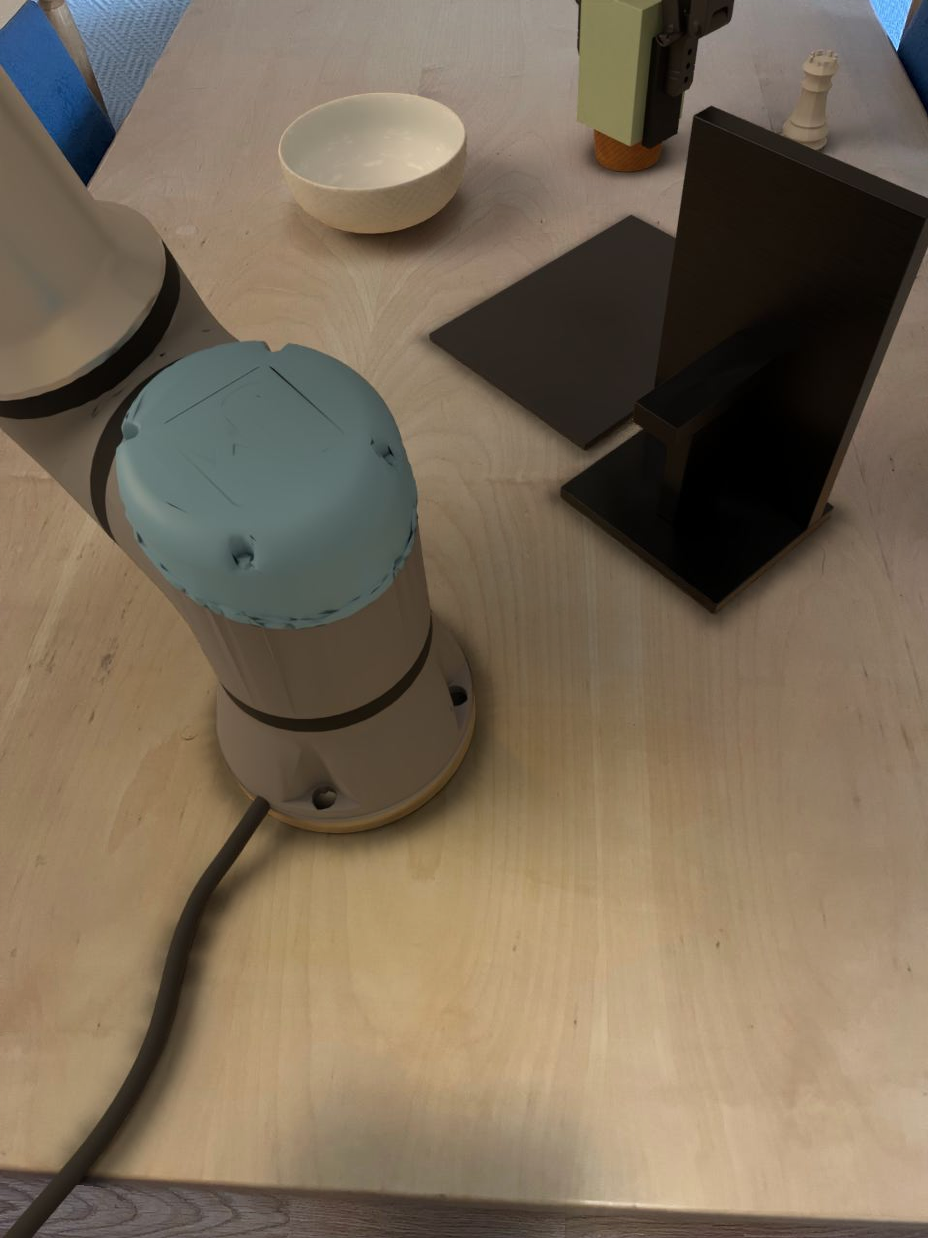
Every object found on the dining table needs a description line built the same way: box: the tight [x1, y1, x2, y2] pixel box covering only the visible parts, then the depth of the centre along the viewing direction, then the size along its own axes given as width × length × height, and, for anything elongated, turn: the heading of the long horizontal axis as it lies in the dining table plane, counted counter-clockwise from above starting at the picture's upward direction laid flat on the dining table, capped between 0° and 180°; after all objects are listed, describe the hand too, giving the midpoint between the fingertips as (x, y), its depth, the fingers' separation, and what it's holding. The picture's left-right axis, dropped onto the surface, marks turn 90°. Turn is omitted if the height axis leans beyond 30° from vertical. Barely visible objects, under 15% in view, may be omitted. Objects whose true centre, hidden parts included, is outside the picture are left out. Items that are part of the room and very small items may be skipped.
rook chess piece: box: [780, 48, 840, 151], centre depth 85 cm, size 4×4×8 cm
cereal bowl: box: [277, 92, 468, 235], centre depth 83 cm, size 17×17×7 cm
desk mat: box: [428, 214, 676, 451], centre depth 74 cm, size 24×18×1 cm
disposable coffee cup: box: [593, 129, 664, 172], centre depth 84 cm, size 10×10×12 cm
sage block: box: [576, 0, 686, 146], centre depth 58 cm, size 5×5×8 cm
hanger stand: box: [559, 105, 928, 615], centre depth 53 cm, size 12×14×23 cm
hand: (628, 123), depth 62 cm, fingers closed on sage block, 5 cm apart
